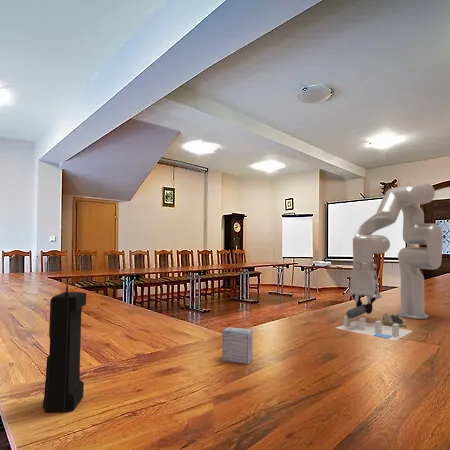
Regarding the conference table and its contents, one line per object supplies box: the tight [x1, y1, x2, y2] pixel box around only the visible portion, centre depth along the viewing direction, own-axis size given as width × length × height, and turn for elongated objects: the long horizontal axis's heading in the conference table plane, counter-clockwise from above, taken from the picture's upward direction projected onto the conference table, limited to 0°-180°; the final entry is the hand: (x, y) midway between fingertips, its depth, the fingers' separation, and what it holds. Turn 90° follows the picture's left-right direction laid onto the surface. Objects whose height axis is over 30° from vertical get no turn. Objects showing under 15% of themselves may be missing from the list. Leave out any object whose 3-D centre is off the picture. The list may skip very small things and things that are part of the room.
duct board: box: [335, 315, 413, 341], centre depth 131 cm, size 18×22×5 cm
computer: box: [382, 313, 408, 328], centre depth 143 cm, size 16×8×3 cm, turn 157°
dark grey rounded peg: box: [345, 303, 367, 319], centre depth 134 cm, size 14×3×3 cm, turn 135°
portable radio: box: [42, 283, 87, 413], centre depth 72 cm, size 8×6×25 cm
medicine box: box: [221, 326, 254, 365], centre depth 99 cm, size 8×4×9 cm, turn 71°
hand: (364, 312), depth 139 cm, fingers closed on dark grey rounded peg, 3 cm apart
